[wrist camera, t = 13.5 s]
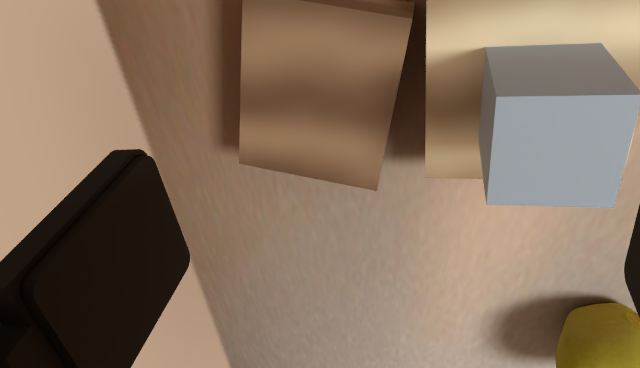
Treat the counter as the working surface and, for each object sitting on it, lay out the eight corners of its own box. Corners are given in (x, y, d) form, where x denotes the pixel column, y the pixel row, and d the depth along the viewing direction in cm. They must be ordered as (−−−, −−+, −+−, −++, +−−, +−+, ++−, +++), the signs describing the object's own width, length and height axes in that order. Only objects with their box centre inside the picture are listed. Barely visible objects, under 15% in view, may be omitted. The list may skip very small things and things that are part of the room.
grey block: (485, 46, 29) (496, 96, 23) (601, 42, 28) (643, 94, 22) (478, 140, 32) (486, 204, 26) (582, 140, 31) (614, 208, 25)
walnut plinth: (261, -24, 33) (242, -10, 30) (415, 1, 32) (412, 18, 29) (255, 137, 40) (239, 163, 37) (381, 161, 39) (376, 190, 36)
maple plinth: (427, -23, 31) (426, -7, 28) (646, -38, 29) (672, -23, 25) (426, 149, 38) (425, 178, 34) (604, 149, 35) (621, 181, 32)
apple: (693, 321, 40) (709, 454, 33) (605, 344, 46) (605, 460, 40) (615, 270, 38) (618, 398, 32) (536, 300, 45) (525, 413, 38)
